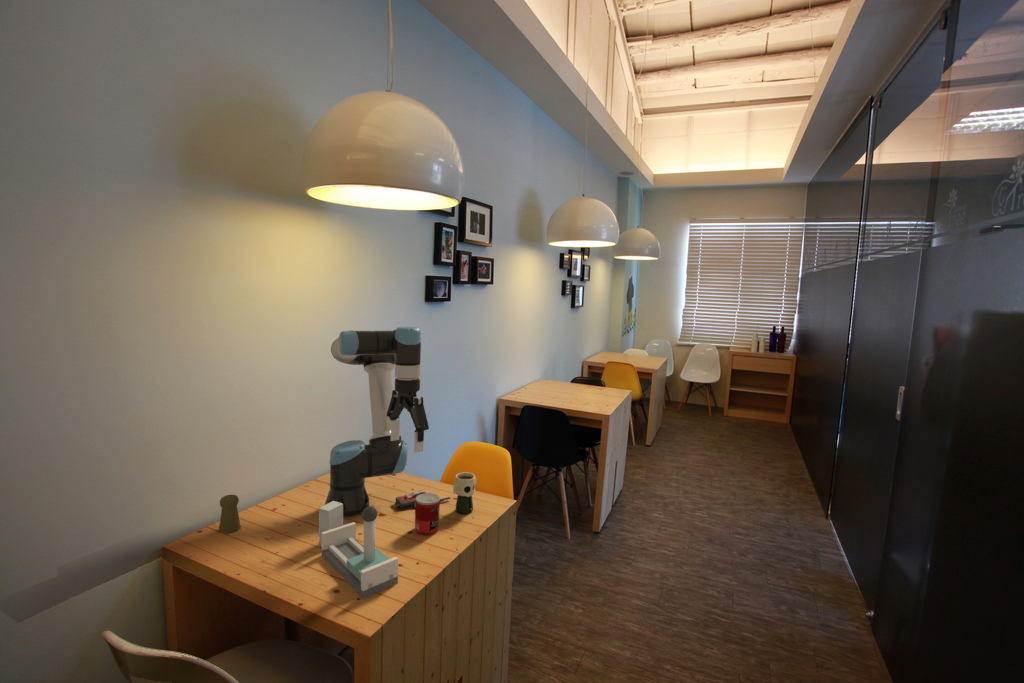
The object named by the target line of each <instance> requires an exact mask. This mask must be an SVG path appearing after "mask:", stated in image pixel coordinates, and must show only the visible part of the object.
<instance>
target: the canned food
mask: <svg viewBox="0 0 1024 683" xmlns="http://www.w3.org/2000/svg"><path fill="white" fill-rule="evenodd" d="M440 499H441V498H440V496H439V495H438V494H435V493H432V492H426V493H424V494H420V495H418V496H417V497H416V500H415V507H414V509H415V510H414V530H415V532H416V533H417V534H419V535H421V536H431V535H435V534H437V532H438V531H439V528H440V508H441V507H440V506H441V505H440V504H441V502H440Z"/></svg>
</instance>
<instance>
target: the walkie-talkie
mask: <svg viewBox="0 0 1024 683" xmlns="http://www.w3.org/2000/svg"><path fill="white" fill-rule="evenodd" d="M424 493H427V492H425V491H424V490H423V489H420V490H415V491H412V492H411V493H410V494H407V493H405V494H404V495H400V496H396V497H395V505H396V506H397V510H401V511H404V510H409V509H414V508H415V500H416V497H417V496H418V495H420V494H424ZM451 498H452V497H451V496H448V497H443V498H440V503H442V502H445V501H447V500H451Z"/></svg>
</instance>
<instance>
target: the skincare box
mask: <svg viewBox="0 0 1024 683" xmlns="http://www.w3.org/2000/svg"><path fill="white" fill-rule="evenodd" d="M343 525H344V517H343V504H342V503H339V502H336V501H332V502H330V503H328V504H326V505H325V504H323V506H321V507H318V537H319V538H318V542H319V543H318V545H319V546H321V547H322V532H325V531H328V530H331V529H334V528H337V527H340V526H343Z"/></svg>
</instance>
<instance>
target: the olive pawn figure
mask: <svg viewBox="0 0 1024 683" xmlns="http://www.w3.org/2000/svg"><path fill="white" fill-rule="evenodd" d="M239 501H240V500H239V497H238V495H235V494H227V495H224V496H222V497H221V498H220V500H219V507H220V508H221V513H220V520H219V528H218V532H219V534H222V535H229V534H233V533H237V532H238V531H239V530H241V526H242V525H241V521H240V517H239V516H240V515H239V510H238V504H239Z"/></svg>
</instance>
